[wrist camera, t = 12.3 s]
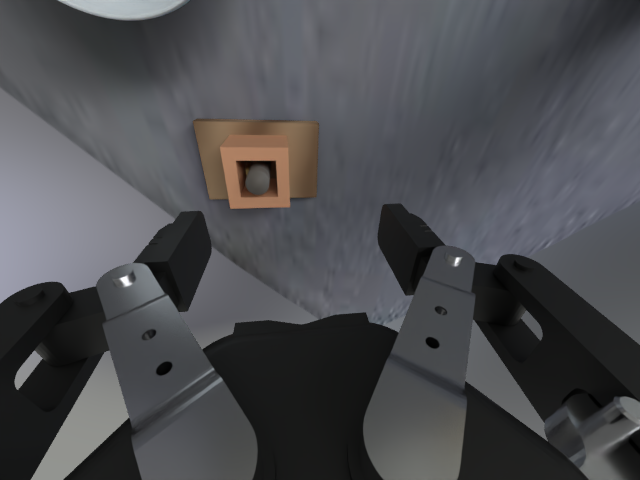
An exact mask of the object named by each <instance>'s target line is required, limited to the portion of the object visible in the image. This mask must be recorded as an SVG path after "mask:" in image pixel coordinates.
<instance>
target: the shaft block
mask: <svg viewBox="0 0 640 480" xmlns="http://www.w3.org/2000/svg"><path fill="white" fill-rule="evenodd" d="M193 124H194V129H195V133H196V138H197V143H198V147H199V152H200V157H201V161H202V166H203V171H204V175H205V180H206V185H207V189H208V194H209V198H210V199H229V197H228V192H227V186H226V180H225V174H224V168H223V163H222V157H221V151H220V146H221V145H222V144H223V143H224V141H225V140H226V139H227V137H228V136H229V135H287V141H288V155H289V188H290V198H308V197H316V196H317V165H318V134H319V123H318V122H317V121H286V120H236V119H196V120H194V121H193ZM244 162H245V170H246V182H245V184H246V188H247V189H248V191H249V192H251V193H252V194H255V195H262V194H264V193H265V192H267V190H268V188H269V181H270V179H272V178H277V170H276V161H244Z"/></svg>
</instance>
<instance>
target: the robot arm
mask: <svg viewBox="0 0 640 480" xmlns="http://www.w3.org/2000/svg"><path fill="white" fill-rule="evenodd" d="M378 244H379V247H380V249H381V250H382V252H383V254H384V256H385V258H386V260H387V262H388V264H389V265H390V267H391V269H392V271H393V273H394V275H395V277H396V279H397V280H398V282H399V284H400V286H401V288H402V290H403V292H404V294H405V295H406V296H407V295H414V296H413V299H412V301H411V304H410V306H409V309H408V311H407V314H406V316H405V319H404V321H403V324H402V326H401V329H400V331H399V333H398V332H397V331H395V330H392V329H390V328H388V327H385V326H382V325H379V324H375V323H370V322H369V321H368V318H367V315H366V312H365V313H352V314H340V315H333V316H330V317H327V318H323V319H320V320H317V321H314V322H310V323H307V324H302V325H300V324H292V323H285V322H278V321H269V320H266V321H254V322H241V323H235V327H234V332H233V334H231V335H228V336H226V337H223V338H221V339H219V340H217V341H215V342H213V343H212V344H210V345H208V346H207V347H206V348H204V349H203V350H202V349H201V347H200V346H199V344H198V342H197V341H196V339H195V338H194V336H193V334H192V333H191V331H190V330H189V328H188V326H187V325H186V323H185V321H184V320H183V318H182V317H181V315H180V313H179V312H185V311H188V309H189V307H190V304H191V302H192V300H193V297H194V295H195V292H196V289H197V287H198V285H199V282H200V280H201V277H202V275H203V273H204V270H205V268H206V265H207V263H208V260H209V258H210V255H211V249H212V248H211V240H210V237H209V233H208V229H207V226H206V222H205V218H204V215H203V213H202V212H201V211H189V212H181V213H180V214H179V216H178V217H177V218H176V220H175V221H174V222H173V223H172V224H168V225H167V226H165V227H163V228H162V229H160V230H159V231H158V232H157V234H156V235H155V236H154V237H153V239H152V240H151V241H150V242H149V245H147V246H146V247H145V249H144V250H143V251H142V252H141V254H140V255H139V256H138V257H137V259H136V260H135V261H134V262H133V263H131V264H126V265H123V266H119V267H117V268H114V269H112V270H110V271H109V272H107V273H106V274H104V275H103V276H102V277H101V278H100V279H99V280H98V282H97V284H96V287H91V288H87V289H83V290H79V291H75V292H71V293H69V292H68V291H67V290H66V288H65V287H64V286H63V285H62V284H61V283H59V282H45V283H40V284H36V285H33V286H30V287H27V288H25V289H23V290H21V291H19V292H17V293H15V294H13V295H11V296H10V297H8V298H7V299H6V300H4V301H3V302H2V303H1V304H0V480H31V478H32V477H33V475H34V473H35V471H36V469H37V468H38V466H39V464H40V463H41V460H42V459H43V457H44V456H45V454H46V452H47V451H48V449H49V447H50V445H51V444H52V442H53V440H54V438H55V437H56V435H57V433H58V432H59V429H60V428H61V426H62V425H63V423H64V421H65V419H66V418H67V415H68V414H69V412H70V411H71V409H72V407H73V405H74V404H75V402H76V400H77V399H78V397H79V395H80V393H81V392H82V390H83V388H84V387H85V385H86V383H87V381H88V379H89V378H90V376H91V374H92V373H93V371H94V369H95V368H96V366H97V364H98V362H99V361H100V359H101V357H102V355H103V354H104V352H106V351H109V350H110V353H111V356H112V360H113V363H114V367H115V370H116V374H117V377H118V380H119V384H120V387H121V391H122V394H123V397H124V401H125V404H126V408H127V411H128V414H129V418H128V419H127V420H126V421H125V422H124V423H123V424H122V425H121V426H120V427H119V428H118V429H117V430H116V431H115V432H113V433H112V434H111V435H110V436H109V437H108V438H107V439H106V440H105V441H104V442H103V443H102V444H101V445H100V446H99V447H98V448H96V450H94V451H93V452H92V453H91V454H90V455H89V456H88V457H87V458H86V459H85V460H84V461H83V462H82V463H81V464H79V465H78V466H77V467H76V468H75V469H74V470H73V471H72V472H71V473H70V474H69V475H68V476H67V477H66V478H65V479H64V480H640V345H639V344H638V343H637V342H635V341H634V340H633V339H632V338H631V337H629V336H628V335H627V334H625V333H624V332H623V331H622V330H621V329H619V328H618V327H617V326H616V325H615V324H613V323H612V322H611V321H610V320H608V319H607V318H606V317H605V316H604V315H602V314H601V313H600V312H599V311H597V310H596V309H595V308H594V307H592V306H591V305H590V304H589V303H588V302H586V301H585V300H584V299H583V298H582V297H580V296H579V295H578V294H576V293H575V292H574V291H573V290H572V289H570V288H569V287H568V286H567V285H566V284H564V283H563V282H562V281H561V280H559V279H558V278H557V277H556V276H555V275H553V274H552V273H551V272H550V271H548V270H547V269H546V268H545V267H544V266H542V265H541V264H539V263H538V262H536V261H534V260H532V259H529V258H527V257H524V256H520V255H514V254H507V255H503V256H501V257H500V259H499V261H498V263H497V265H491V264H484V263H477V262H475V259H474V258H473V256H472V255H471V254H469V253H468V252H466V251H465V250H463V249H460V248H457V247H453V246H446V245H445V244H444V243H443V242H442V241H441V240H440V239H439V238H438V236H437V235H436V234H435V233H434V232H433V231H432V230H431V229H430V228H429V227H428V226H427V224H426V223H425V222H424V221H423V220H422V219H421V218H419V217H417V216H415V215H414V214H410V213H409V212H408V211H407V210H406V209H405V208H404V207H403V205H402V204H384V205H383V207H382V211H381V217H380V223H379V230H378ZM526 310H527V311H528V312H529V313H530V314H531V315H532V316H533V317H534V318H535V319H536V320H537V322H538V323H539V324H540V326H541V328H542V332H543V337H542V340H541V341H540V340H539V339H538V338H537V337H536V335H535V334H534V333H533V332H532V331H531V330H530V329H529V327H528V326H527V325H526V324H525V323H524V322H523V321H522V319H521V317H522V316H523V314H524V313H525V311H526ZM473 320H475V322H476V323H477V325H478V326H479V327H480V329H481V331H482V332H483V334H484V335H485V337H486V338H487V340H488V341H489V342H490V344H491V345H492V347H493V348H494V350H495V351H496V353H497V354H498V356H499V357H500V358H501V360H502V361H503V363H504V364H505V366H506V367H507V369H508V370H509V372H510V373H511V375H512V376H513V378H514V379H515V381H516V382H517V384H518V385H519V386H520V388H521V389H522V391H523V392H524V394H525V395H526V397H527V398H528V400H529V401H530V403H531V404H532V406H533V407H534V408H535V410H536V411H537V413H538V414H539V416H540V417H541V419H542V420H543V422H544V423H545V424H544V431H545V435H546V438H547V440H548V441H546V440H545V439H544V438H542V437H541V436H539V435H538V434H537V433H535V432H534V431H533V430H531V429H530V428H528V427H527V426H526V425H525V424H523V423H522V422H520V421H519V420H518V419H516V418H515V417H514V416H512V415H511V414H510V413H508V412H507V411H505V410H504V409H503V408H501V407H500V406H499V405H497V404H496V403H495V402H493V401H492V400H490V399H489V398H488V397H486V396H485V395H484V394H482V393H481V392H480V391H478V390H477V389H476V388H474V387H473V386H471V385H470V384H468V383H467V382H466V381H465V379H466V371H467V363H468V354H469V346H470V338H471V329H472V322H473ZM34 350H35V351H36V352H37V353H38V354H39V355H40V356H41V357H42V358H43V359H42V360H41V361H40V363H39V364H38V365H37V367H36V368H35V369H34V370H33V372H32V373H31V374H30V376H29V377H28V378H27V379H26V381H25V382H24V383H23V385H22V386H21V387H20V388H19V390H17V389H16V387H15V384H14V380H15V376H16V373H17V371H18V370H19V368H20V367H21V366H22V364H23V363H24V362H25V361H26V360H27V358H28V357H29V356H30V355H31V354H32V352H33V351H34Z"/></svg>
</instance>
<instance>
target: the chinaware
mask: <svg viewBox="0 0 640 480" xmlns="http://www.w3.org/2000/svg"><path fill="white" fill-rule="evenodd" d="M58 1H60V2H62V3H64V4H66V5H68V6H70V7H72V8H75V9H77V10H80V11H83V12H86V13H88V14H92V15H95V16H99V17H103V18H108V19H115V20H125V21H135V20H146V19H152V18H156V17H160V16H163V15H166V14H169V13H171V12H173V11H175V10H177V9H179V8H181V7H182V6H184V5H185V4H186V3H188V2H189V1H190V0H58Z"/></svg>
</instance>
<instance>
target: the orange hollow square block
mask: <svg viewBox="0 0 640 480" xmlns="http://www.w3.org/2000/svg"><path fill="white" fill-rule="evenodd" d="M220 151H221V157H222V163H223V168H224V174H225V180H226V186H227V192H228V197H229V203H230V209H238V208H277V207H290V188H289V155H288V141H287V135H229V136H228V137H227V139H226V140H225V141H224V143H223V144H222V145H221V146H220ZM244 161H276V170H277V178H272V179H270V181H269V188H268V190H267V192H265V193H264V194H262V195H255V194H252V193H251V192H249V191H248V189H247V188H246V184H245V182H246V170H245V162H244Z"/></svg>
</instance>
